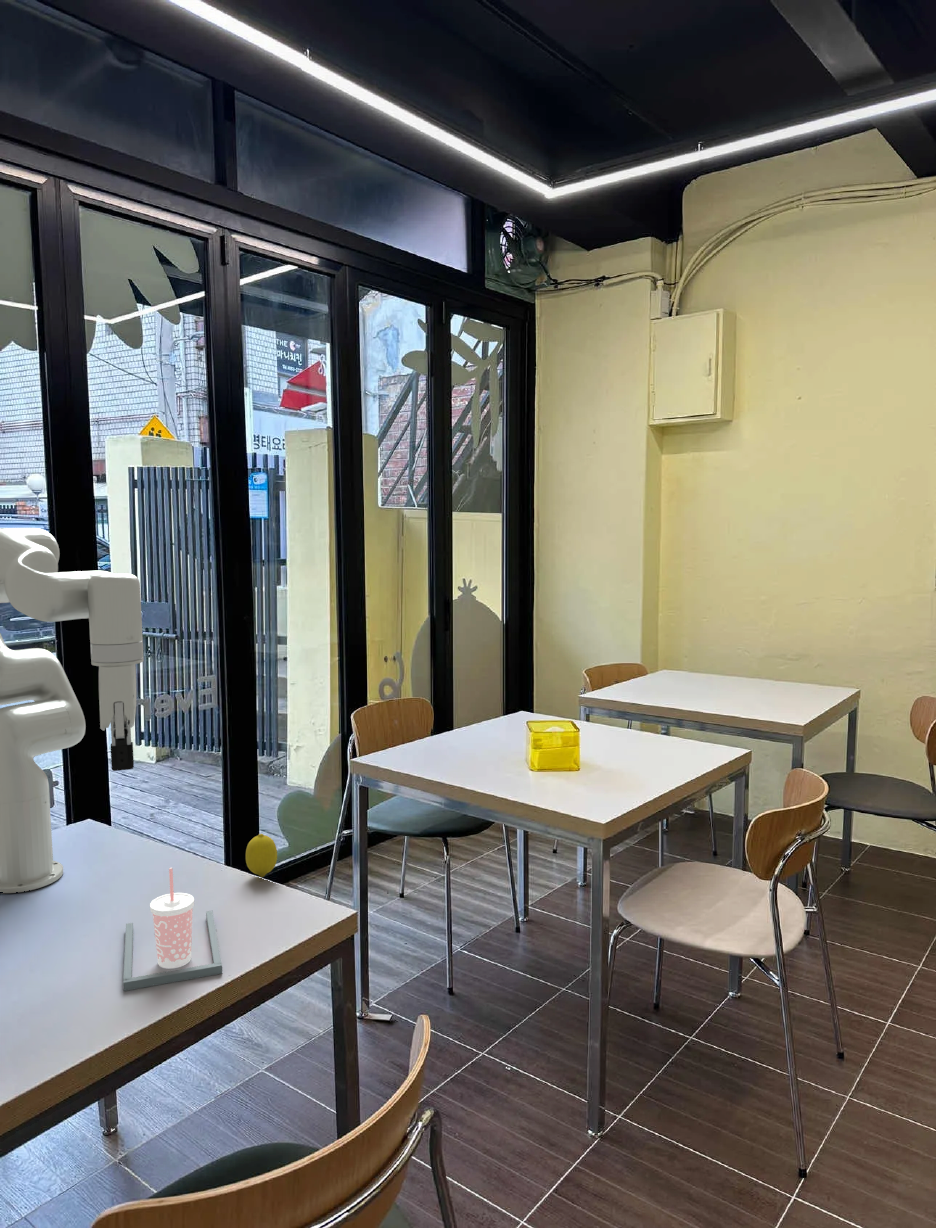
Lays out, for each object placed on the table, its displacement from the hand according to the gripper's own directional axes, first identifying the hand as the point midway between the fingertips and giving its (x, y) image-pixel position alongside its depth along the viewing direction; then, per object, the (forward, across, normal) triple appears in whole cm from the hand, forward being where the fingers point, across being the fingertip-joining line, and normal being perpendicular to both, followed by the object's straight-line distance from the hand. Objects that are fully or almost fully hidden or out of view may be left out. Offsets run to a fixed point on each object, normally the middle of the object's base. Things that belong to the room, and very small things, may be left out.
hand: (122, 768), depth 136 cm
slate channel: (+25, +13, +6) cm, 29 cm away
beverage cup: (+25, +16, +6) cm, 30 cm away
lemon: (+25, -10, +22) cm, 35 cm away
